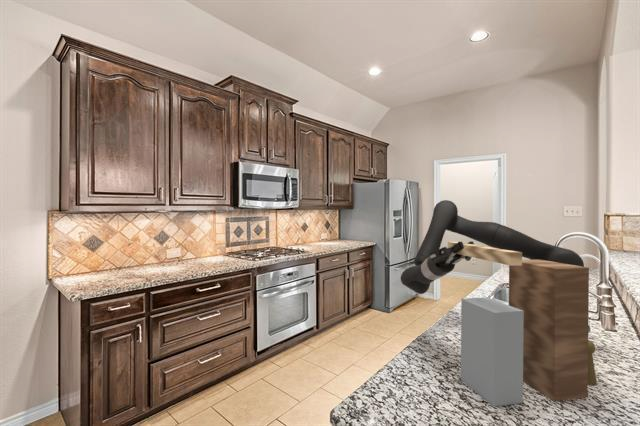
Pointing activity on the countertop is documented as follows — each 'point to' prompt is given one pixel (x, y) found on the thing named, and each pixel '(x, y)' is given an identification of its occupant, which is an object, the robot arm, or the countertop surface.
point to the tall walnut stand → (553, 326)
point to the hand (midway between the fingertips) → (467, 244)
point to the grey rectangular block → (492, 350)
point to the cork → (591, 364)
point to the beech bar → (490, 254)
